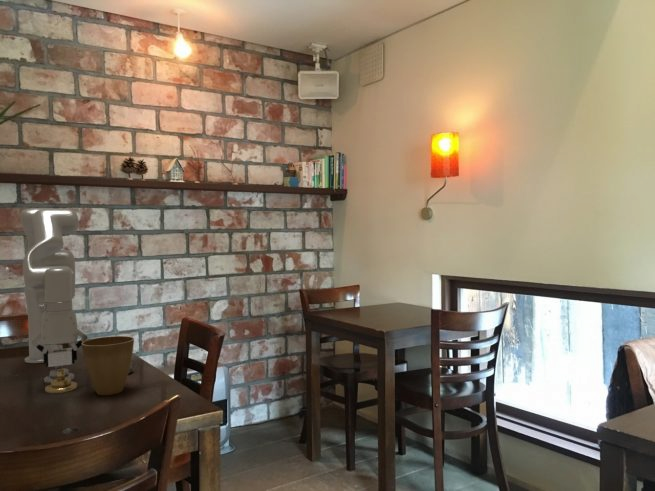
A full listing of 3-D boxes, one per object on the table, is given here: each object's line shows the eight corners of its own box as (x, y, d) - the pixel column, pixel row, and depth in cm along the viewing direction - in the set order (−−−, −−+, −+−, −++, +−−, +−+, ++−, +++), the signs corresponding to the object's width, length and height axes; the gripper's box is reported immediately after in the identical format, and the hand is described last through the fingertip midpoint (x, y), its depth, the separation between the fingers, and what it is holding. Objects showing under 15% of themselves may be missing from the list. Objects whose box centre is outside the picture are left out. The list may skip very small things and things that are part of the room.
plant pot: (145, 388, 165) (144, 337, 165) (104, 402, 152) (102, 347, 152) (114, 382, 173) (113, 333, 172) (72, 394, 160) (71, 342, 160)
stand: (54, 375, 182) (54, 357, 182) (79, 375, 181) (79, 358, 181) (38, 383, 173) (37, 364, 173) (64, 383, 172) (63, 364, 172)
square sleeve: (49, 362, 167) (49, 349, 167) (72, 360, 170) (72, 347, 170) (48, 366, 161) (47, 353, 161) (72, 364, 164) (71, 351, 164)
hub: (56, 384, 171) (55, 365, 171) (82, 384, 170) (82, 365, 170) (38, 393, 162) (38, 373, 162) (66, 393, 161) (66, 373, 161)
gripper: (26, 310, 158) (27, 370, 159) (89, 306, 166) (91, 363, 166) (28, 307, 165) (30, 364, 166) (89, 303, 172) (90, 358, 173)
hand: (60, 363), depth 166 cm, fingers closed on square sleeve, 6 cm apart
